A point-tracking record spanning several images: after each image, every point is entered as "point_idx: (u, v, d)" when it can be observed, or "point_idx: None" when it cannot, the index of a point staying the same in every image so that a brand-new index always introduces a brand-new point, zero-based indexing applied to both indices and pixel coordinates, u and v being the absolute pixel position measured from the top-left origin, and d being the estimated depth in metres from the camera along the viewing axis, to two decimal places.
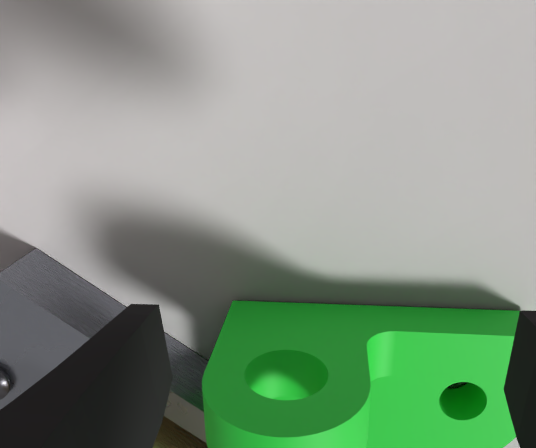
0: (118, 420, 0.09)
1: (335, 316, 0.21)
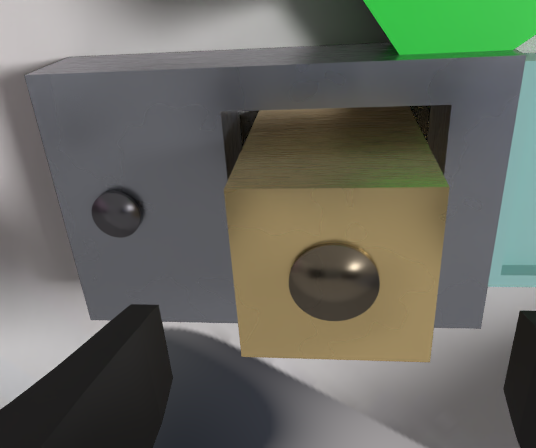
0: (119, 420, 0.09)
1: None
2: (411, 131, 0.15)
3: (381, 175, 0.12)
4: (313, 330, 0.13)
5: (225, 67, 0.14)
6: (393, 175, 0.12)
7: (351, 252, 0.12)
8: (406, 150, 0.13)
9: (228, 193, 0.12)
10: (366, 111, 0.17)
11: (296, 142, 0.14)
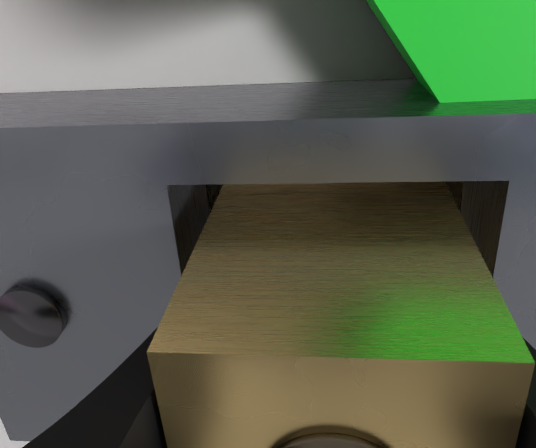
0: None
1: None
2: (447, 217, 0.10)
3: (411, 324, 0.07)
4: None
5: (170, 123, 0.10)
6: (433, 327, 0.07)
7: None
8: (446, 260, 0.09)
9: (154, 358, 0.07)
10: None
11: (277, 236, 0.10)
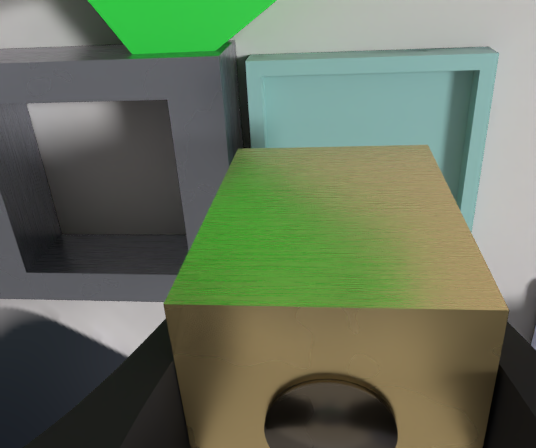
0: (177, 422, 0.09)
1: None
2: (438, 193, 0.11)
3: (400, 281, 0.08)
4: None
5: None
6: (419, 282, 0.08)
7: (356, 394, 0.08)
8: (435, 229, 0.09)
9: (170, 310, 0.08)
10: (375, 156, 0.13)
11: (280, 210, 0.10)
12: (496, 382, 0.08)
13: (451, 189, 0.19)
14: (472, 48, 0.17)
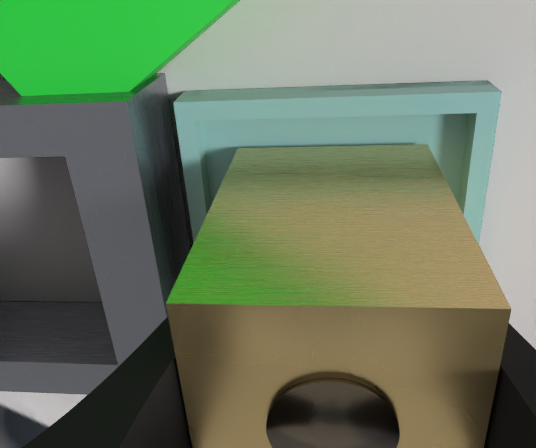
0: (176, 423, 0.09)
1: None
2: (438, 192, 0.11)
3: (403, 279, 0.08)
4: None
5: None
6: (421, 281, 0.08)
7: (358, 393, 0.08)
8: (435, 227, 0.09)
9: (173, 309, 0.08)
10: (374, 156, 0.13)
11: (280, 209, 0.10)
12: None
13: None
14: (467, 83, 0.13)
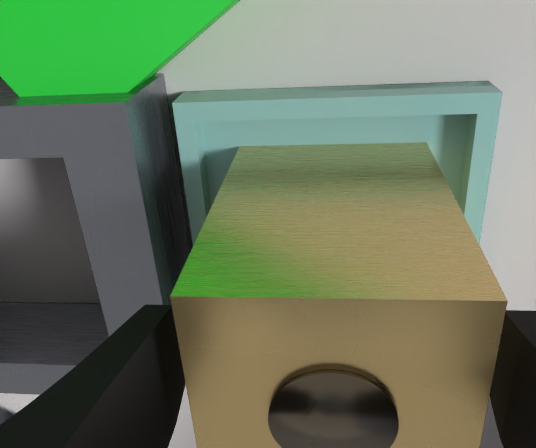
0: (135, 420, 0.09)
1: None
2: (437, 189, 0.11)
3: (402, 273, 0.08)
4: None
5: None
6: (420, 274, 0.08)
7: (358, 384, 0.08)
8: (434, 223, 0.10)
9: (177, 302, 0.08)
10: (374, 153, 0.13)
11: (282, 205, 0.11)
12: None
13: None
14: (467, 84, 0.13)
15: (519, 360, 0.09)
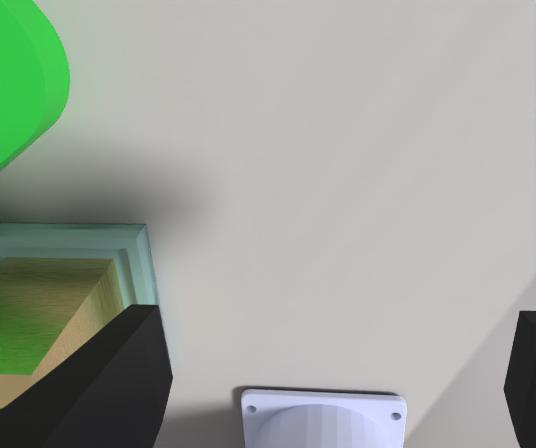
0: (118, 420, 0.09)
1: None
2: (77, 300, 0.20)
3: (2, 358, 0.17)
4: None
5: None
6: (9, 359, 0.17)
7: None
8: (49, 325, 0.18)
9: None
10: (74, 268, 0.22)
11: None
12: None
13: None
14: (130, 227, 0.22)
15: None
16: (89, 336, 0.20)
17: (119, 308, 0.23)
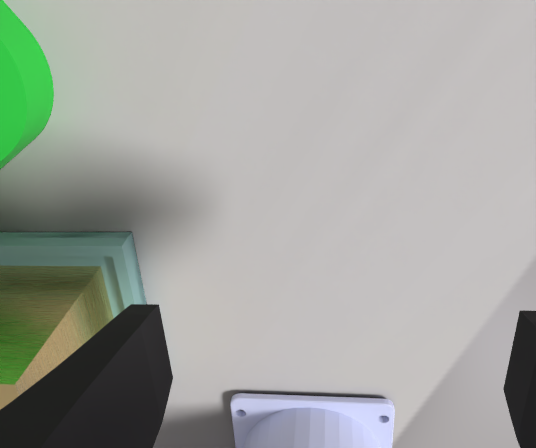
0: (118, 420, 0.09)
1: None
2: (63, 308, 0.20)
3: None
4: None
5: None
6: None
7: None
8: (34, 334, 0.19)
9: None
10: (62, 276, 0.22)
11: None
12: None
13: None
14: (116, 235, 0.22)
15: None
16: (75, 343, 0.20)
17: (107, 315, 0.23)
